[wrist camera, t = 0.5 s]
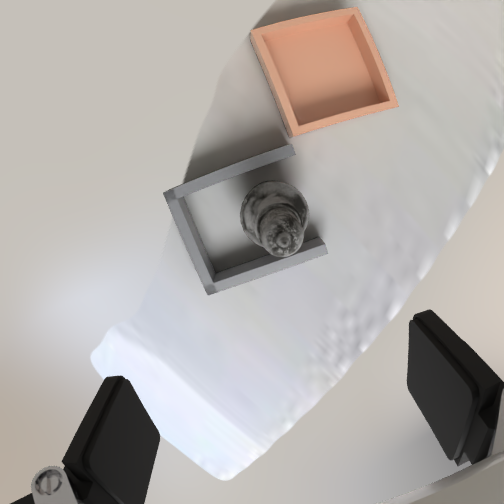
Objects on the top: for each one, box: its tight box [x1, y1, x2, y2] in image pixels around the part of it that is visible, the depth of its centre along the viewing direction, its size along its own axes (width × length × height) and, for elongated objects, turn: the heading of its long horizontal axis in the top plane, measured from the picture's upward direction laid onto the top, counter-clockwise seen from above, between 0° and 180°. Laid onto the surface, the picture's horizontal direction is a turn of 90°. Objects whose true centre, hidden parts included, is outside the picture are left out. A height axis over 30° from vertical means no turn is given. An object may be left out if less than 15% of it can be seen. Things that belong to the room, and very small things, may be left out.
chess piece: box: [240, 181, 309, 257], centre depth 25 cm, size 6×6×12 cm
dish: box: [250, 7, 399, 138], centre depth 25 cm, size 10×10×3 cm
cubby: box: [163, 144, 328, 295], centre depth 30 cm, size 12×10×2 cm
